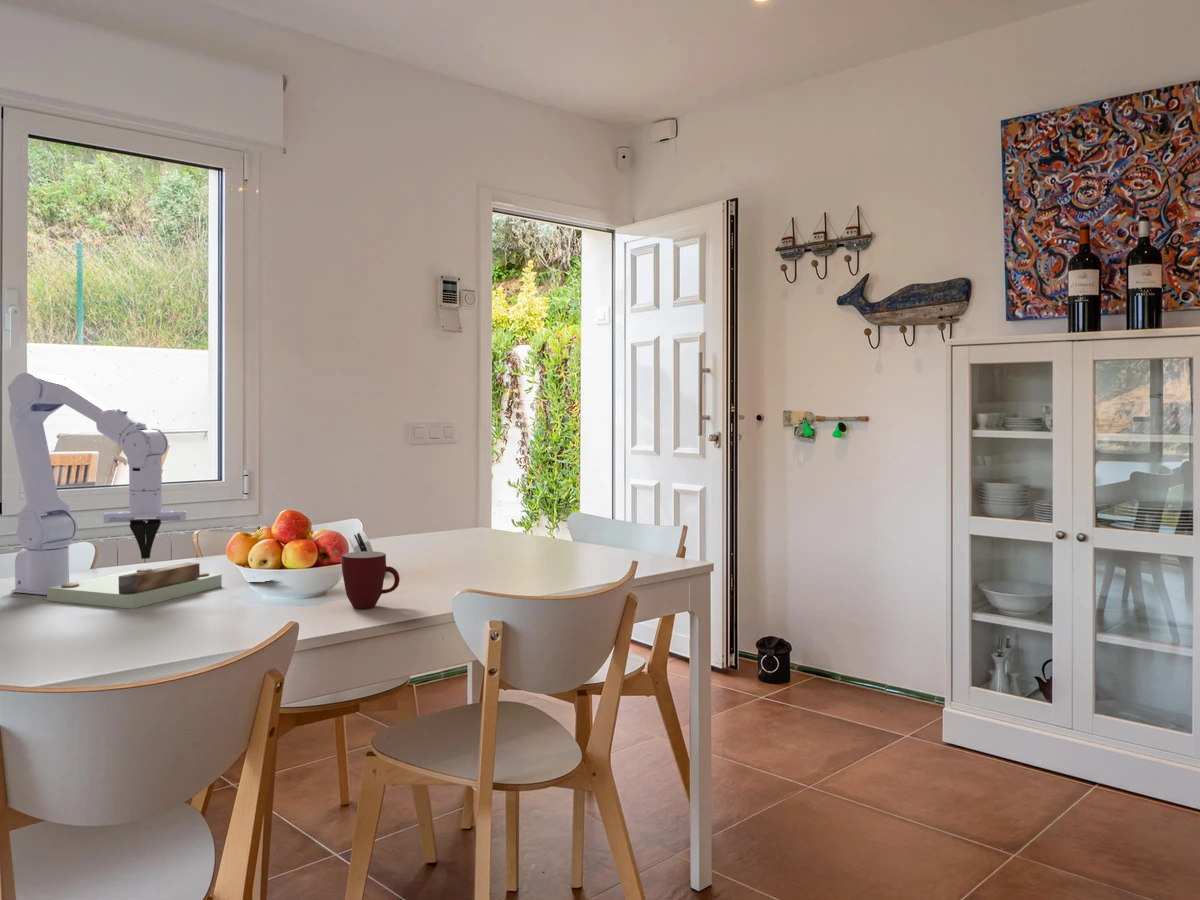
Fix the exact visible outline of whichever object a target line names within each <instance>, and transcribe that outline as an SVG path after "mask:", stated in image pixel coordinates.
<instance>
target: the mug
mask: <svg viewBox="0 0 1200 900" xmlns="http://www.w3.org/2000/svg"><path fill="white" fill-rule="evenodd" d="M341 572H342V573H341V574H342V578H343V582H344V583H343V585H344V589H345V594H346V596H347V597H346V598H347V599H348V601H349V603H350V605H351V607H352V608H354V609H356V610H367V609H369V610H370V609H373V608H375V606H376V604H377V603H378V601H379V600H380V597H382V594H384V595H385V594H388V593H392V592H394V591H395V590H397V588H398V587H399V584H400V578H401V577H400V575H399V572H398V570H397V569H395V568H394V567H393V566H387V555H386V553H385V552H382V551H374V550H373V551H363V552H354V551H352V552H347V553H343V554H342V555H341ZM385 573H390V574H392V576H393V581H394V582H393V585H392V586H391V587H389V588H384V589H383V587H384V581H385V576H386V574H385Z"/></svg>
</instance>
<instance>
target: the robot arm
mask: <svg viewBox="0 0 1200 900" xmlns="http://www.w3.org/2000/svg"><path fill="white" fill-rule="evenodd" d="M7 392H8V397H9V402H10V407H9V408H10V409H9V416H8V417H9V424H10V427H11V434H12V438H13V442H14V447H15V448H14V449H15V451H16V457H17V458H16V459H17V461H18V467H19V472H20V475H21V481H22V485H23V486H22V487H23V492H24V496H25V500H26V502H25V505H24V506H23V507H22V508H21V509H20V510H19V511H18V513H17V521H18V522H17V529H16V537H17V539H18V541H19V542H20V543H21V545H22V546H23V548H22V549H20V550H19V552H18V553H16V556H15V559H14V588H12V589H10V591H11V592H12V593H20V594H21V593H22V594H31V595H32V594H33V595H39V596H41V595H42V596H43V595H44V596H47V588H48V587H53V586H58V585H63V584H68V583H70V559H69V558H70V553H69V552H70V549H69V548H70V547H69V546H72V540H73V539H75V537H76V535H77V533H78V523H77V520H76V519H75V517H74V516H73V514H72V512H71V509H70V508H71V507H70V505H69V504H67V503H66V502H65V500H63V499H61V498H60V497H59V495H58V490H57V489H58V488H57V484H56V479H55V474H54V470H53V465H52V460H51V456H50V451H49V447H48V441H47V436H46V431H45V426H44V423H45V421H46V420H47V419H48V418H49V416H50V415H52V414H54V413H55V412H56V411H57V410H59V409H60V408H61V407H63V406H65V405H66V406H67V407H69V408H70V409H71V410H74V411H75V412H77V413H79V414H81V415H82V416H84V417H86V418H88V419H89V420H91V421H93V422H95V424H96V425H95V426H96V430H97V431H98V432H99V433H100V434H102V435H103V436H105V437H107V438H108V439H109V440H111V441H113V442H114V443H115V444H117V445H118V446H120V447H121V450H122V452H123V453H124V455H125V457H126V461H127V463H126V464H127V465H128V467H129V468H128V477H129V479H128V480H129V481H128V485H129V488H128V489H129V491H128V493H129V503H128V504H129V506H128V508H129V511H114V512H113V511H111V512H109V511H108V512H104V513H103V524H112V523H129V528H130V530H131V531H132V534H133V535H134V538H135V541H136V542H137V544H138V547H139V551H140V557H141V558H140V559H141V560H147V559H151V553H152V547H153V545H154V540H155V539H156V535H157V534H158V531H159V529H160V526H161V524H162V522H176V521H179V522H186V521H187V510H162V507H163V504H162V502H163V501H162V500H163V499H162V498H163V497H162V495H163V493H162V491H163V490H162V488H163V487H162V485H163V483H162V478H163V477H162V469H163V468H162V464H163V463H162V456H164V455H165V454H166V453H167V451H168V447H169V442H168V438H167V436H166V435H165V433H163V432H162V431H161V429H158V428H150V429H149V428H147V426H146V423H144V422H142V421H139V420H137V419H135V418H133V417H131V416H130V415H129V414H128V413H129V412H128V411H127V410H126V409H125V408H118V407H113V408H108V407H107V406H104V404H102V403H100V402H99V401H98V400H96V399H95V398H93V397H92V396H91V395H90V394H88V393H87V392H86V391H84V390H83V389H82V388H80V387H79V386H78V385H77V382H76V381H74V380H72V379H69V378H68V377H67V376H65V375H62V374H41V373H30V372H22V373H18V374H17V375H15V377H14V379H12V381H11V383H10V384H9V385H8V386H7ZM43 514H44V515H43Z"/></svg>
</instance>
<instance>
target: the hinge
mask: <svg viewBox="0 0 1200 900" xmlns="http://www.w3.org/2000/svg"><path fill="white" fill-rule="evenodd" d="M348 540H349V544H350V546H351V548H352V552H363V551H373V552H374V550H373V547H372V545H371V542H370V540H369V538H368V536H367V534H366V533H365V531H364V530H362V531H358V532H357V533H356V534H354V533H352V534H351V535H349V536H348ZM387 574H388V572H386V573H385V575H387Z"/></svg>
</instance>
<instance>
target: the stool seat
mask: <svg viewBox="0 0 1200 900" xmlns="http://www.w3.org/2000/svg"><path fill="white" fill-rule="evenodd" d="M153 569H154V568H143V567H142V568H139V569H133V570H128V571H123V572H117V573H113V574H109V575H103V576H99V577H92V578H87V579H83V580H78V581H73V582H69V583H68V584H63V585H58V586H53V587H48V588H47V595H46V601H48V602H56V603H57V602H58V603H69V604H70V603H71V604H79V605H88V606H89V605H90V606H99V607H111V608H120V609H129V610H130V609H131V610H134V609H137V608H141V607H145V606H149V605H153V604H157V603H162V602H165V601H168V600H173V599H178V598H181V597H184V596H188V595H193V594H197V593H201V592H204V591H208V590H213V589H217V588H220V587H222V584H223V583H222V581H223V580H222V579H223V578H222V576H223V575H222V574H220V573H219V574H217V573H209V572H200V578H197V579H193V580H188V581H184V582H179V583H175V584H170V585H166V586H161V587H157V588H153V589H148V590H144V591H139V592H135V593H128V594H121V593H119V576H122V575H128V574H133V573H138V572H143V571H148V570H153Z"/></svg>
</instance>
